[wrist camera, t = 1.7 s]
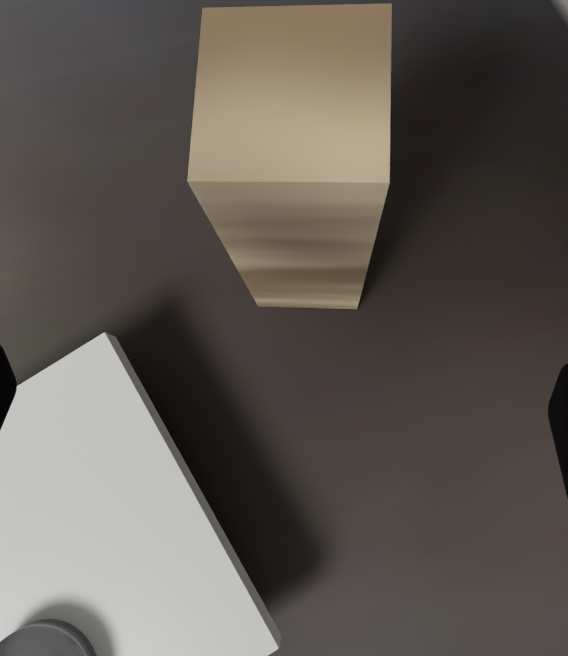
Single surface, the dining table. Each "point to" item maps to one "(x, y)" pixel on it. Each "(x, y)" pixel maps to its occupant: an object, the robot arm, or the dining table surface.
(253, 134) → the beech post
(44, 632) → the silver metal dome
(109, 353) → the white square board
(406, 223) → the dining table surface
